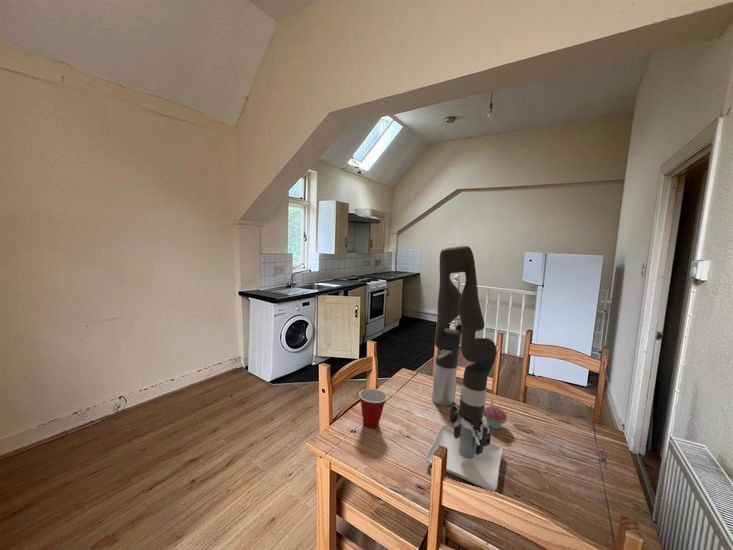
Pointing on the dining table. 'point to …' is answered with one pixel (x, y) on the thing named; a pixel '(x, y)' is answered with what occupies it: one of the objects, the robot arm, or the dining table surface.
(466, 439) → the shaker
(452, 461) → the salad plate
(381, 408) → the plastic cup
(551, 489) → the dining table surface
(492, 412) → the cupcake
